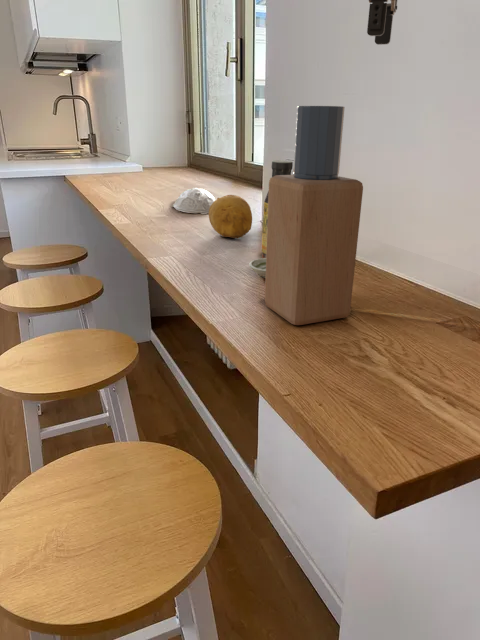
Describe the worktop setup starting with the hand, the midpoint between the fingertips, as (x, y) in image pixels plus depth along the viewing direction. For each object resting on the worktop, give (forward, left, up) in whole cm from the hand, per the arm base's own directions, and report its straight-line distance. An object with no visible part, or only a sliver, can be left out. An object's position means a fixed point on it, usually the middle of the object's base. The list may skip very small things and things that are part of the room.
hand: (378, 40), depth 71 cm
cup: (+5, +13, -18) cm, 23 cm away
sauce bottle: (+18, -14, -38) cm, 45 cm away
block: (+5, +13, -38) cm, 41 cm away
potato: (+35, -31, -38) cm, 60 cm away
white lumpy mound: (+61, -65, -38) cm, 97 cm away
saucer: (+15, -3, -38) cm, 41 cm away
